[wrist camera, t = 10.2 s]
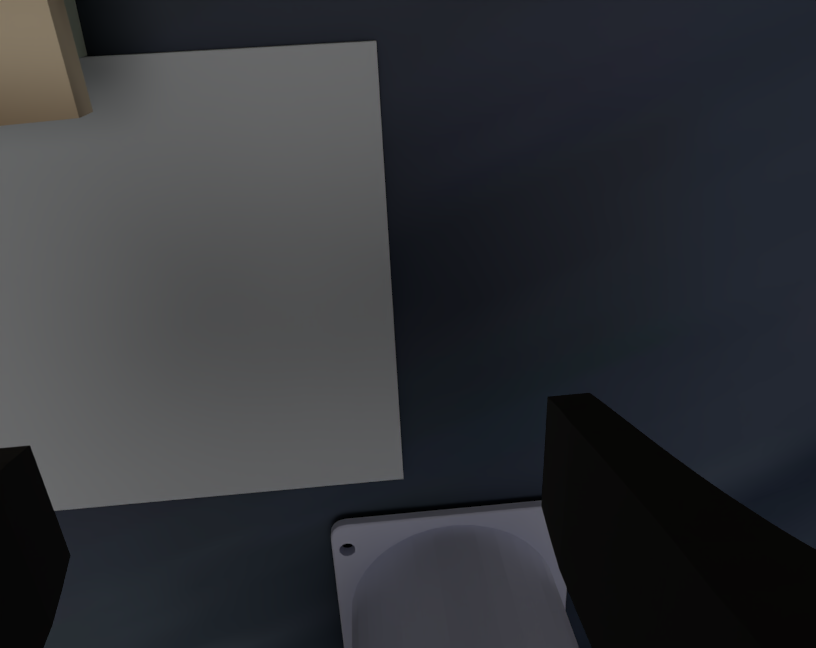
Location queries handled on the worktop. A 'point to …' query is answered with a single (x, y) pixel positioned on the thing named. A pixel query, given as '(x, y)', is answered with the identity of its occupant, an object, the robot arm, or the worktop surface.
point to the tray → (75, 27)
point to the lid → (39, 64)
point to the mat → (201, 279)
